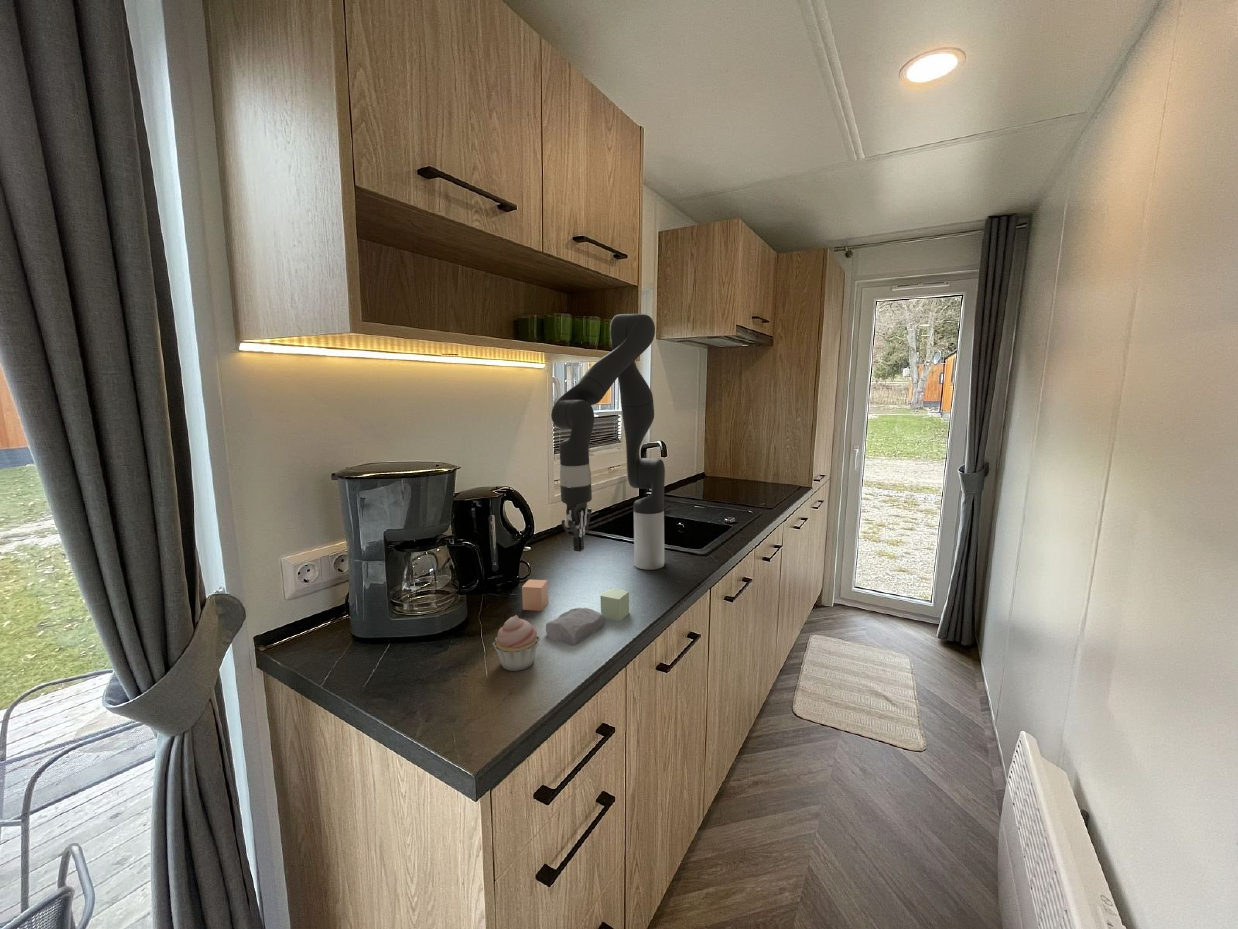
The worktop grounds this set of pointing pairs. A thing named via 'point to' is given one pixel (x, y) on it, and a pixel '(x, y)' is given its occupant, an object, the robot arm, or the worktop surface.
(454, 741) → the worktop surface
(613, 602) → the sage block
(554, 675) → the worktop surface
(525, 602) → the terracotta block
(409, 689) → the worktop surface
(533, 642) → the cupcake
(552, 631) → the stone block
